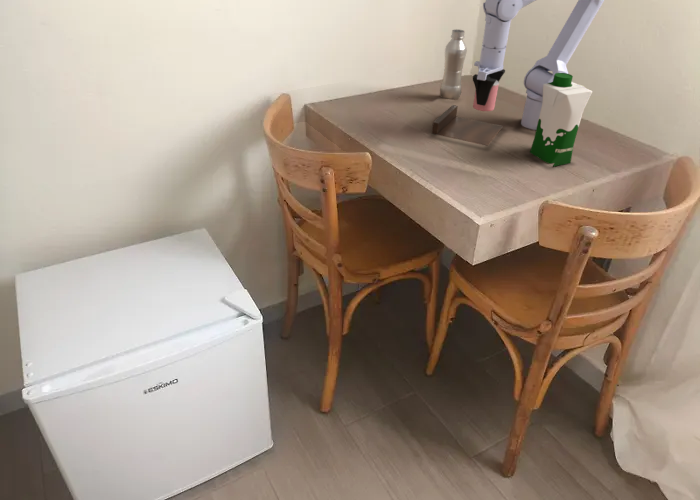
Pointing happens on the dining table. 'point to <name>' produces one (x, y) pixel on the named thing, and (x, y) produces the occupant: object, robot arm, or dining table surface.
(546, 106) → the milk carton
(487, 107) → the yogurt pot
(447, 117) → the serving board
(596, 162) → the dining table surface
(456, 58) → the plastic bottle
